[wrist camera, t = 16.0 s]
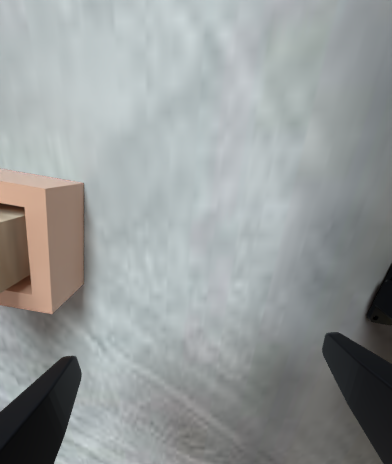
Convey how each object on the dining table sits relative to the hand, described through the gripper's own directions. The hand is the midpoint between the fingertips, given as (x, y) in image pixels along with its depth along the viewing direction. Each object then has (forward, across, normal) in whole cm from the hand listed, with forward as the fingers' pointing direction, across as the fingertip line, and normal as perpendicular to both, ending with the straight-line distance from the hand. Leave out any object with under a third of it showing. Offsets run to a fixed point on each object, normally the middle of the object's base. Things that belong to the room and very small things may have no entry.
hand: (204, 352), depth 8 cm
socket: (+14, +15, -1) cm, 20 cm away
